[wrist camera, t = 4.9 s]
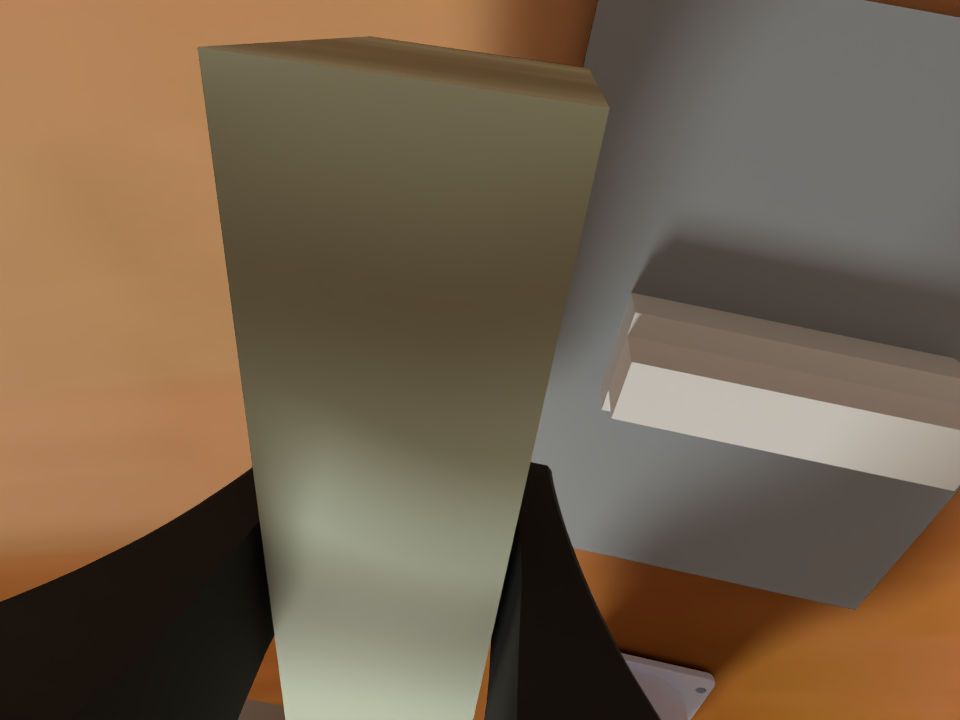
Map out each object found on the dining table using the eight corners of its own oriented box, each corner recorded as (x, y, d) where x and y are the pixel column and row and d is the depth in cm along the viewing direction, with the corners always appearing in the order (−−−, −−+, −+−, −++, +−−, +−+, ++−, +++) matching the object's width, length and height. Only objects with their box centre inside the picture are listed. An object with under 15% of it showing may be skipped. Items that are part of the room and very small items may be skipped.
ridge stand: (848, 597, 24) (888, 680, 21) (480, 516, 24) (467, 585, 21) (1281, 78, 13) (1491, 95, 10) (608, -44, 14) (618, -62, 11)
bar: (474, 642, 17) (445, 842, 13) (362, 620, 18) (297, 810, 13) (588, 68, 9) (610, 108, 5) (369, 36, 9) (197, 47, 5)
